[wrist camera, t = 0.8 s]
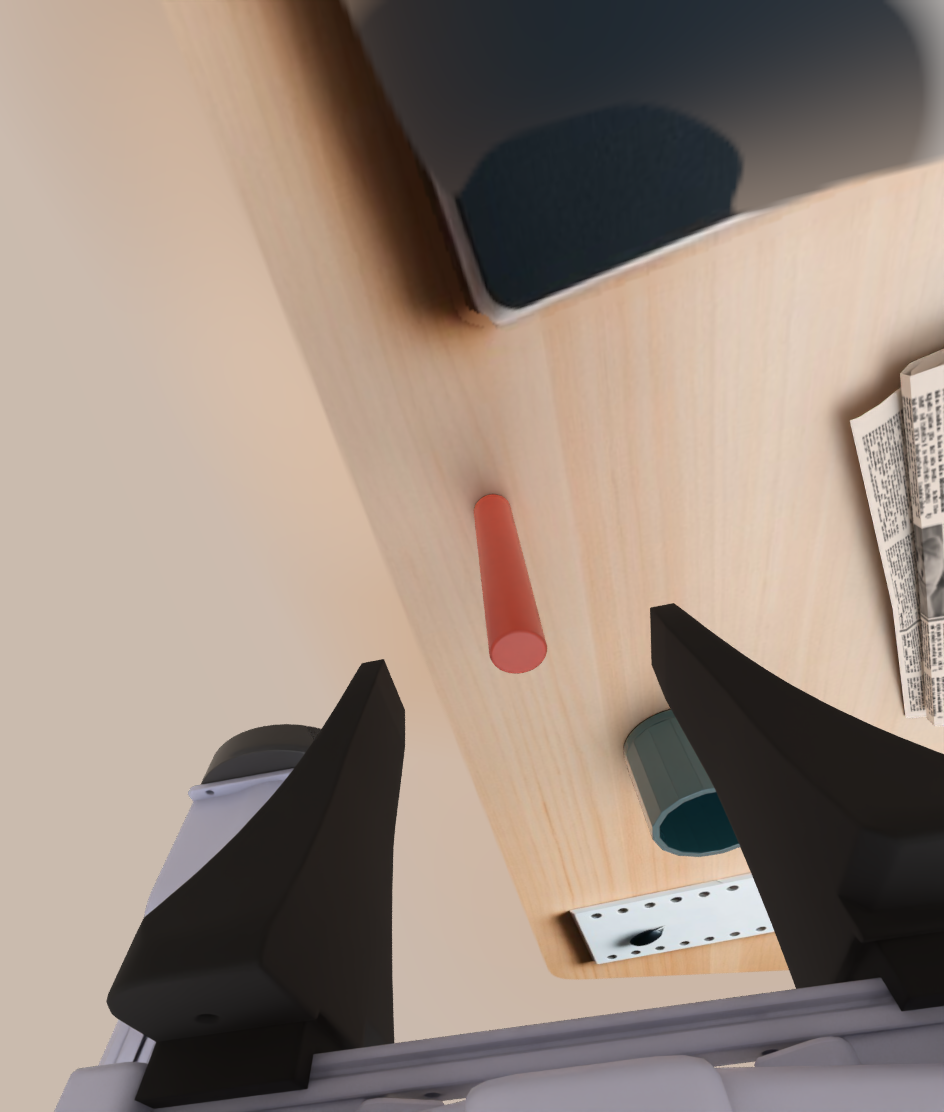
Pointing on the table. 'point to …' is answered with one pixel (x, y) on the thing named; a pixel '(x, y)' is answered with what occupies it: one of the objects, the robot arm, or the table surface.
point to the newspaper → (911, 523)
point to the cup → (676, 790)
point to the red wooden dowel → (507, 590)
